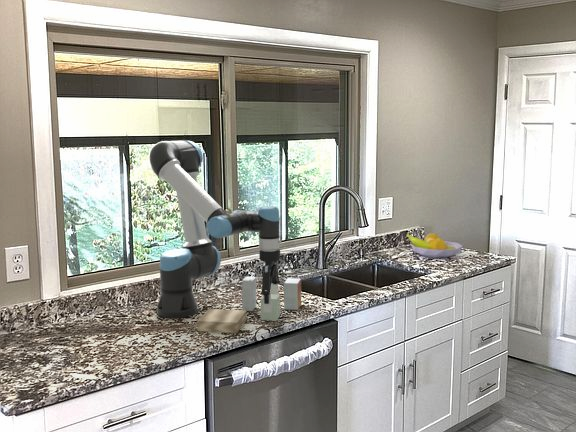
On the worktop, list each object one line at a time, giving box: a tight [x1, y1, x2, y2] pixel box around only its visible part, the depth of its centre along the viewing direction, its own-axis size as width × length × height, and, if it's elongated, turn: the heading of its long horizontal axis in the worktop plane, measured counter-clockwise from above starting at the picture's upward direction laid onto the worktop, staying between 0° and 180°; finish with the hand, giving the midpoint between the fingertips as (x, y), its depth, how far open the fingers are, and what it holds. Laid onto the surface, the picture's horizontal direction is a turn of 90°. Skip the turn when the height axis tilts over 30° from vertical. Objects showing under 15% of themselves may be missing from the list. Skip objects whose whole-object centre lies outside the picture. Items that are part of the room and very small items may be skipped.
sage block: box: [259, 293, 281, 322], centre depth 222 cm, size 6×6×8 cm
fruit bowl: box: [406, 232, 463, 259], centre depth 325 cm, size 28×27×11 cm
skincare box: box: [241, 276, 257, 312], centre depth 232 cm, size 6×4×12 cm
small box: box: [283, 277, 302, 311], centre depth 235 cm, size 8×6×10 cm
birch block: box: [196, 308, 248, 334], centre depth 214 cm, size 14×14×4 cm
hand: (271, 306), depth 222 cm, fingers open, 13 cm apart
